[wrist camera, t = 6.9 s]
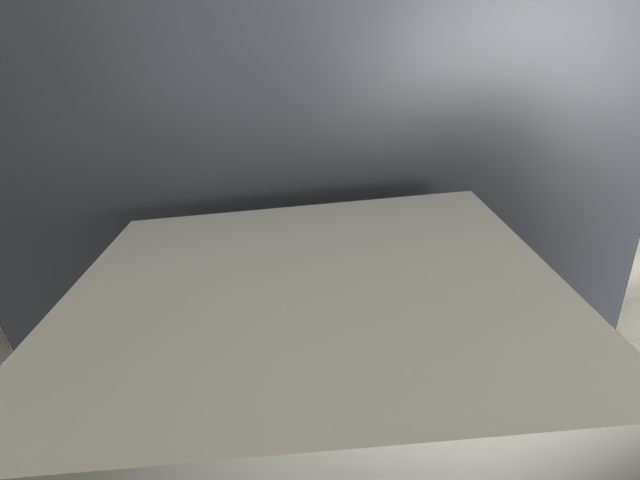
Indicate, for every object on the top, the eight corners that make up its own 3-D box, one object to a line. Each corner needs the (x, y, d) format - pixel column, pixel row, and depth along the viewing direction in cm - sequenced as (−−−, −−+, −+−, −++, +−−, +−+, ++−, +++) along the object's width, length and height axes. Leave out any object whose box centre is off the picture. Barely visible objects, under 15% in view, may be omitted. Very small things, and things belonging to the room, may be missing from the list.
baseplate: (548, 445, 14) (573, 489, 13) (121, 481, 14) (101, 529, 13) (656, -76, 8) (727, -98, 7) (-89, -6, 8) (-166, -14, 7)
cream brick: (453, 432, 10) (570, 745, 6) (200, 454, 10) (119, 782, 6) (470, 191, 8) (708, 419, 3) (131, 220, 8) (-111, 489, 3)
